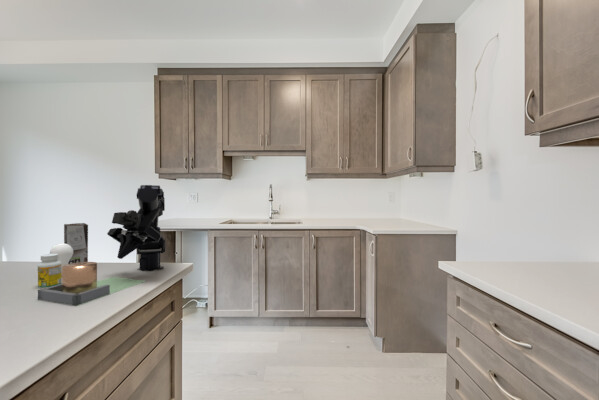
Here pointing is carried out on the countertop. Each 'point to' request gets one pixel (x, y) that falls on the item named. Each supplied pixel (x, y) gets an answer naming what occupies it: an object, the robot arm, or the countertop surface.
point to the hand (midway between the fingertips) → (119, 258)
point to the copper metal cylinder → (79, 277)
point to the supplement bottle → (49, 271)
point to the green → (116, 284)
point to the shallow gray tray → (71, 295)
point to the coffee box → (77, 241)
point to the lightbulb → (62, 253)
